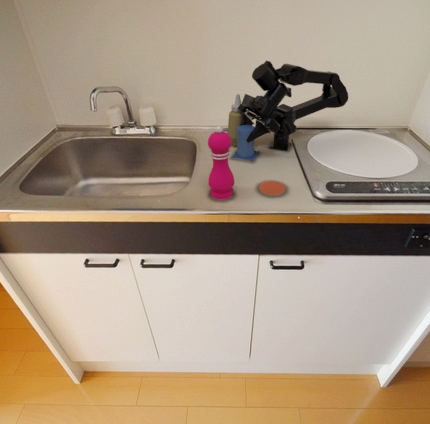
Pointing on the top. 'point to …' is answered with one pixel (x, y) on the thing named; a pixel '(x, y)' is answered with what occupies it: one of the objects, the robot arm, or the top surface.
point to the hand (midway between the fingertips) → (242, 138)
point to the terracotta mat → (272, 188)
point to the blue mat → (246, 158)
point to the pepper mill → (220, 165)
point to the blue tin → (242, 145)
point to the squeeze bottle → (234, 120)
